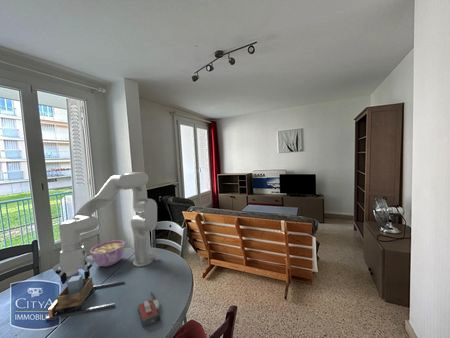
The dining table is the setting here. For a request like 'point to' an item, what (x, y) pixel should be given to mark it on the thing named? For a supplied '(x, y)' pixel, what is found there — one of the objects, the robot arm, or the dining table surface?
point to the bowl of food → (108, 252)
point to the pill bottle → (71, 273)
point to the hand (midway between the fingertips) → (76, 280)
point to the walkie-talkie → (149, 311)
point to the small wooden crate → (74, 297)
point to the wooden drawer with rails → (53, 310)
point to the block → (75, 284)
